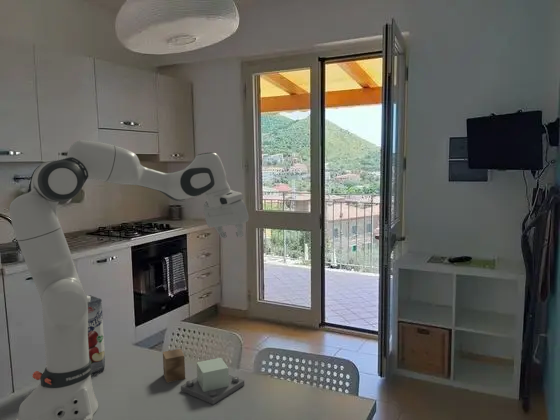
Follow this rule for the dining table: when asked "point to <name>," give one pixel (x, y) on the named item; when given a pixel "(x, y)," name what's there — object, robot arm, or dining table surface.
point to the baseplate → (212, 393)
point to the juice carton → (96, 334)
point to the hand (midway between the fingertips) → (232, 237)
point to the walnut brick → (173, 365)
